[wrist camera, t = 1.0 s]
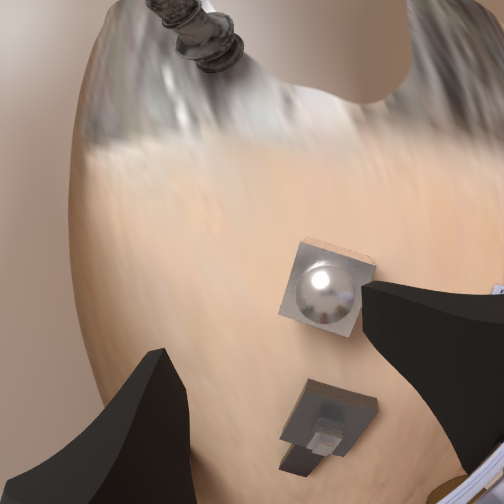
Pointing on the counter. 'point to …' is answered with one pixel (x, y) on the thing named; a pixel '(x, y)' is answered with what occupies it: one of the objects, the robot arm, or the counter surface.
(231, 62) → the salt shaker
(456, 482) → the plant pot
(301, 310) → the cube with round knob
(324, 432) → the dark grey piece
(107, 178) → the counter surface
